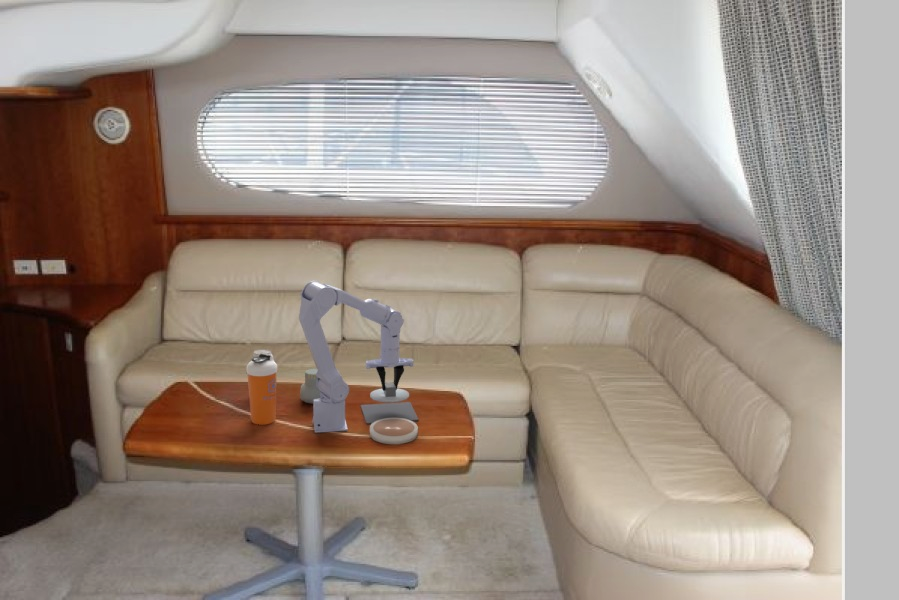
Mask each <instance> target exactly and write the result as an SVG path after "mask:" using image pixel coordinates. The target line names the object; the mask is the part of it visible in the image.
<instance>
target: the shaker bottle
mask: <svg viewBox="0 0 899 600" xmlns="http://www.w3.org/2000/svg"><path fill="white" fill-rule="evenodd" d="M245 370H246V375H247V385H248V386H247V387H248V398H249V408H250V409H249V411H250V421H251V423H253V424H254V425H258V424H259V426H261V425H263V426H264V425H270V424H272V423H275V421H276V414H277V413H276V411H277V410H276V408H277V407H276V406H277V372H278V364H277V362H275V359H274V355H273V354H272V355H267V354H259V356H258V357H255V358H253V357H252V358H251V360H250V361H249V362H248V363H247V365H246V368H245Z"/></svg>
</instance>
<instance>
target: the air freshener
mask: <svg viewBox="0 0 899 600" xmlns="http://www.w3.org/2000/svg"><path fill="white" fill-rule="evenodd" d="M317 371H318V370H317V368H310V369H307V370H305V372H304V382H303V383H302V384H301V385H300V392H299V398H300V400H301V401H303V402H304V403H307V404H310V405H311V404H312V405H313V400H314V399H318V398H320V391H319V390H318V388H317V385H316V383H317V377H316V373H317Z"/></svg>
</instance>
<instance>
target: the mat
mask: <svg viewBox="0 0 899 600" xmlns="http://www.w3.org/2000/svg"><path fill="white" fill-rule="evenodd" d="M360 408H361V412H362V415H363V418H364V421H365V423H366V425H371V424H372V423H373V422H375V421H377V420H380V419H384V418H403V419H408V420H410V421H413V422H417V421H420V420H419V417H418V416H417V413H416V411H415V409H414V407H413V405H412V403H411V401H400V402H384V403H371V404H360Z"/></svg>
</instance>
